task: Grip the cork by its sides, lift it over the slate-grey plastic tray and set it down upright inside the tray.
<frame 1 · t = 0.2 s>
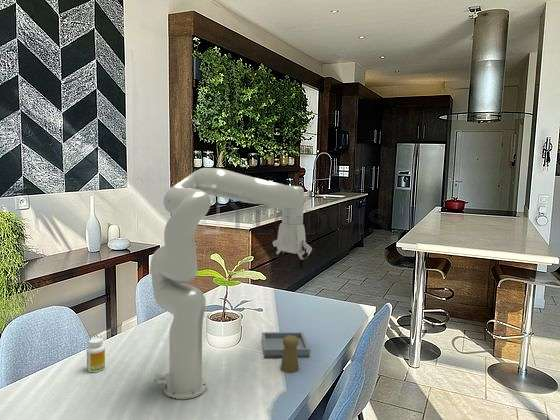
hand: (291, 267, 161), 31 cm above the table, tool pointing down, fingers open, 9 cm apart
tray: (284, 348, 164), on the table
cork: (289, 368, 148), on the table
supplement bottle: (96, 369, 144), on the table
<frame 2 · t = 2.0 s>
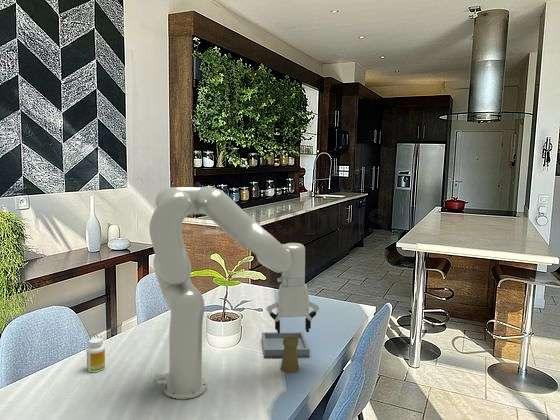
hand: (292, 331, 147), 13 cm above the table, tool pointing down, fingers open, 9 cm apart
nothing on the table moved.
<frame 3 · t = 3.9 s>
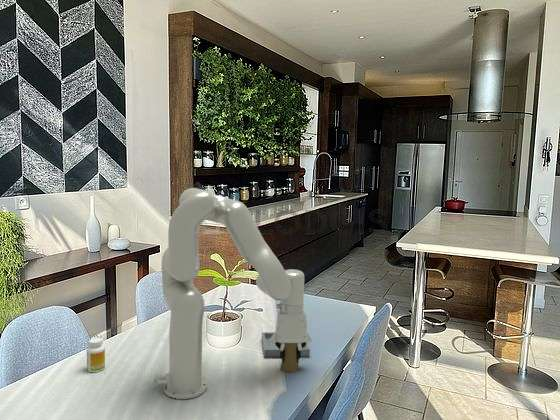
hand: (290, 360, 148), 3 cm above the table, tool pointing down, fingers closed on cork, 4 cm apart
cork: (289, 368, 148), on the table, touching gripper
everything else where it was.
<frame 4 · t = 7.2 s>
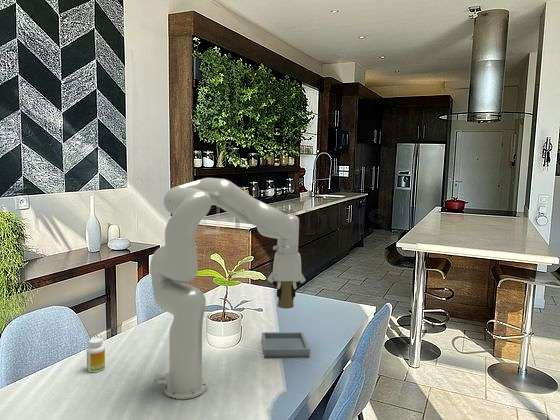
hand: (285, 298, 162), 19 cm above the table, tool pointing down, fingers closed on cork, 4 cm apart
cork: (285, 306, 162), point 16 cm above the table, touching gripper
everything else where it was.
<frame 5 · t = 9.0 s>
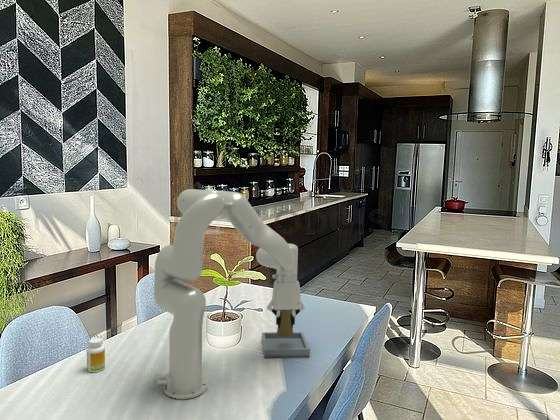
hand: (285, 325, 163), 9 cm above the table, tool pointing down, fingers closed on cork, 4 cm apart
cork: (284, 333, 164), point 6 cm above the table, touching gripper
everything else where it was.
when the fingers open (5 cm above the table, at t = 10.4 s): cork drops 1 cm, resting on tray.
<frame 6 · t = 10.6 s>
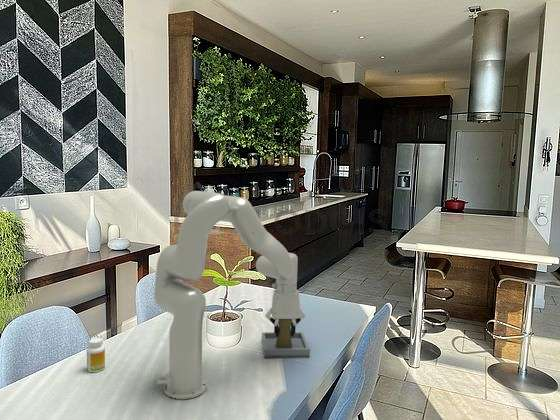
hand: (284, 334, 164), 5 cm above the table, tool pointing down, fingers open, 5 cm apart
cork: (283, 346, 164), point 1 cm above the table, touching gripper, tray
everything else where it was.
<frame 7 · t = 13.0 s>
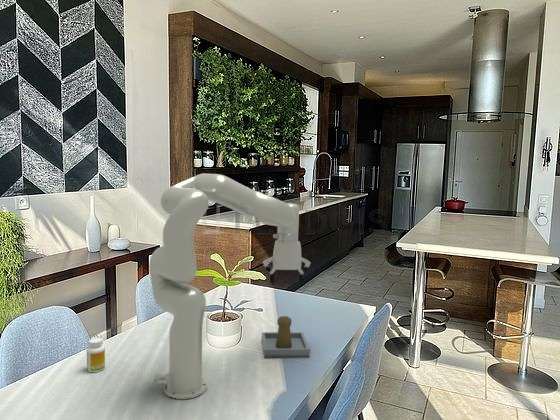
hand: (285, 284, 162), 24 cm above the table, tool pointing down, fingers open, 9 cm apart
cork: (283, 346, 164), point 1 cm above the table, touching tray
everything else where it was.
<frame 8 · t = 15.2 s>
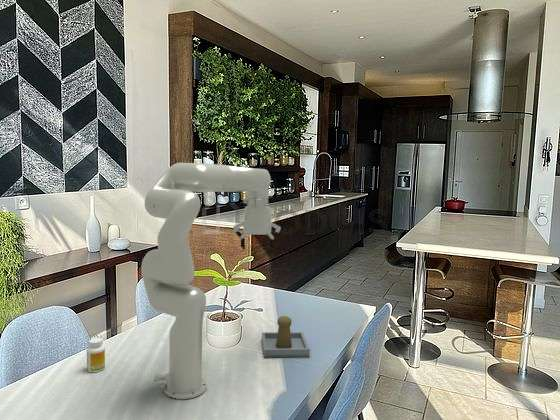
hand: (256, 249, 163), 36 cm above the table, tool pointing down, fingers open, 9 cm apart
nothing on the table moved.
at the end: cork inside the target area on the tray (0.5 cm from its centre), point 0.8 cm above the tray's base; cork tilted 0°; the gripper is holding nothing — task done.
